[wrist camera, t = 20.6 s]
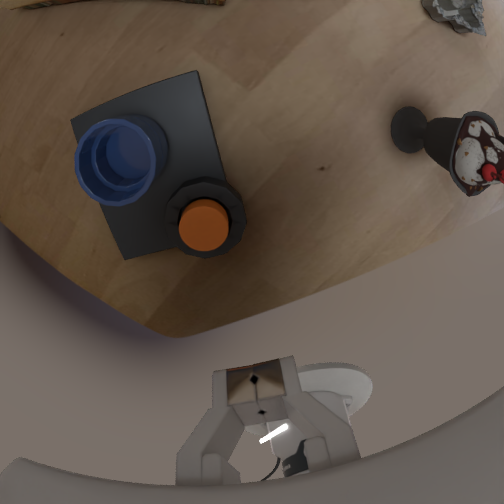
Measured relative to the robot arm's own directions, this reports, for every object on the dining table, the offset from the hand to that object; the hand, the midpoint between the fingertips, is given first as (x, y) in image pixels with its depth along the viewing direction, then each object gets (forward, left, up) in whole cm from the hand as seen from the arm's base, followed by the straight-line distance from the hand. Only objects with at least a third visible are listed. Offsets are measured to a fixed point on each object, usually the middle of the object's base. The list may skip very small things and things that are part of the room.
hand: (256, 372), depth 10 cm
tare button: (0, +3, -16) cm, 17 cm away
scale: (+5, +6, -19) cm, 20 cm away
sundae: (+4, -19, -19) cm, 27 cm away
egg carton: (+21, -28, -19) cm, 39 cm away
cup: (+7, +7, -18) cm, 20 cm away
